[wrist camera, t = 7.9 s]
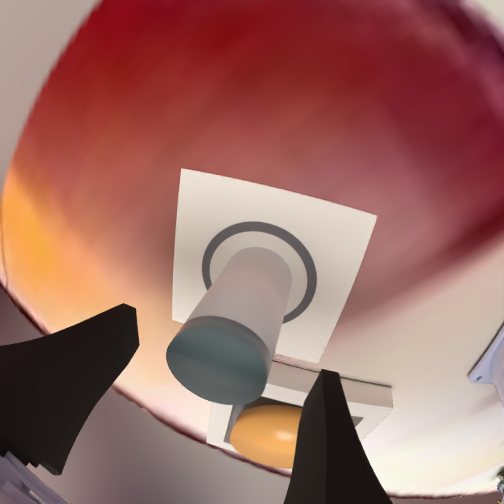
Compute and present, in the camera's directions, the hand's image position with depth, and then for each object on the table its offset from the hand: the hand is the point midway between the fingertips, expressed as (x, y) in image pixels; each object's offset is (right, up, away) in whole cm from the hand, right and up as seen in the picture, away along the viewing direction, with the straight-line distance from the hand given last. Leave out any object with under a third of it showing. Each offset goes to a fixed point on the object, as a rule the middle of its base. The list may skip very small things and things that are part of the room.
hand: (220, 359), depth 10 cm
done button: (+4, -10, +9) cm, 14 cm away
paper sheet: (+2, +3, +6) cm, 7 cm away
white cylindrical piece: (+2, +2, +5) cm, 6 cm away
